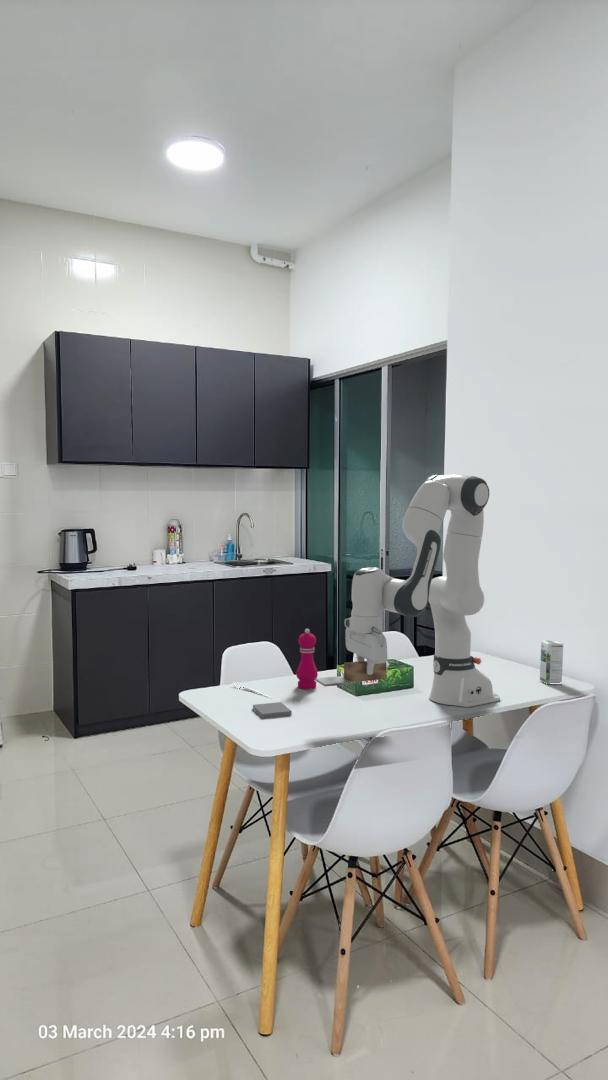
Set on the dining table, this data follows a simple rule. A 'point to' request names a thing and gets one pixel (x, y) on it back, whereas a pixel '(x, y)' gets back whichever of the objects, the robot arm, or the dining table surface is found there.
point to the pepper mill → (307, 661)
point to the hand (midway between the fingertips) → (365, 672)
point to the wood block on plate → (355, 674)
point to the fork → (246, 688)
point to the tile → (272, 710)
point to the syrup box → (551, 661)
